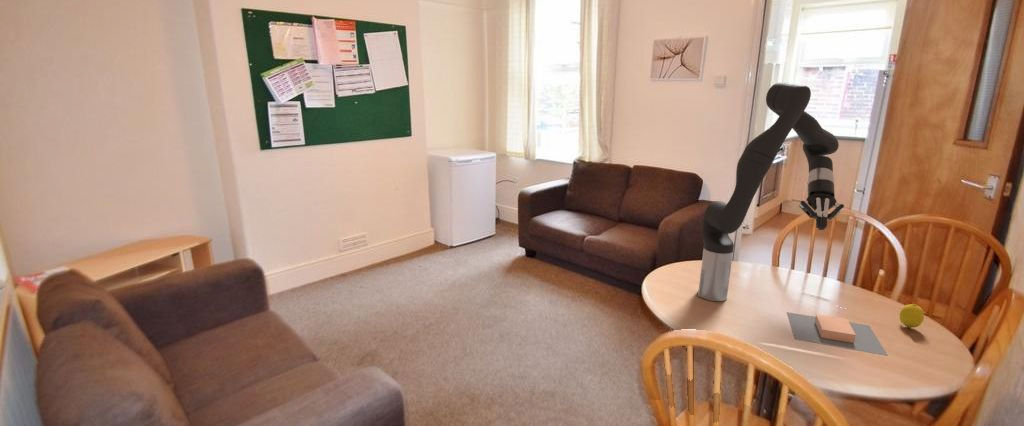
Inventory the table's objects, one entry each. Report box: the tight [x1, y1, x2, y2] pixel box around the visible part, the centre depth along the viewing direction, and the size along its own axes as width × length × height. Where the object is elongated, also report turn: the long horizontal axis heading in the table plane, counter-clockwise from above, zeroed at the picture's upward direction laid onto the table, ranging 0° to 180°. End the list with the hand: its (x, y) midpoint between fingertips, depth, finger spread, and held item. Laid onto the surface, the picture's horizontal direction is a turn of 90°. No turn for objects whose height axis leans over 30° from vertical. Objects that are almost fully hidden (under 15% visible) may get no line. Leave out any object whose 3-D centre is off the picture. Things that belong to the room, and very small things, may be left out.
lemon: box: [899, 303, 925, 329], centre depth 142 cm, size 6×6×8 cm
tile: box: [814, 313, 856, 343], centre depth 139 cm, size 8×3×10 cm
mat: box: [786, 311, 889, 357], centre depth 140 cm, size 22×18×1 cm
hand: (821, 228), depth 154 cm, fingers closed
